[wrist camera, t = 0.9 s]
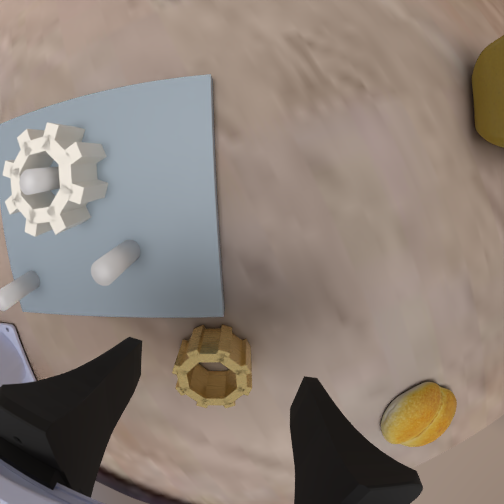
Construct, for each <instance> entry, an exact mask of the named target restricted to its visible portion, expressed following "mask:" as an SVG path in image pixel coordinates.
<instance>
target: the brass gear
mask: <svg viewBox="0 0 504 504" xmlns="http://www.w3.org/2000/svg"><path fill="white" fill-rule="evenodd" d="M199 362H220V363H222V364H223V365H224V366H226V367H227V368H229V369H228V370H227V371H208V370H207V369H205V368H204V367H203V366H201V365H200V364H198V363H199ZM172 373H173V374H176V375H177V377H178V381H177V384H176V389H177V391H178V392H179V393H180V395H185V394H186V395H187V396H189V397H190V398H192V399H193V400H195V401H197V404H196V405H197V406H201V407H204V408H207V406H208V405H223V406H224V407H225V408H228V407H231V406H235V400H237V399H238V398H239V397H240V396H242V395H247V396H248V395H249V393H250V391H251V389H252V373H251V347H250V344H249V343H248V341H247V339H243V340H241V339H240V338H238V337H237V336H236V335H234V334H233V333H232V327H229V326H225V325H222V326H221V328H212V329H205V327H204V325H201V326H199V327H196V328H194V330H193V333H192V337H191V338H190V339H189V340H188V341H186V340H184V339H183V341H182V344H181V347H180V350H179V353H178V356H177V359H176V362H175V365H174V368H173V372H172Z"/></svg>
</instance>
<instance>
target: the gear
mask: <svg viewBox="0 0 504 504" xmlns="http://www.w3.org/2000/svg"><path fill="white" fill-rule="evenodd" d="M84 132H85V129H83V128H79V127H75V126H69V125H62V124H56V123H49V122H47V124H46V128H45V130H36V129H26V130H25V131H24V132H23V133H22V134H21V135H19V136H18V137H17V140H18V143H19V146H20V149H21V150H20V152H19V153H18V155H17V157H16V159H15V160H5V164H4V170H3V176H6V177H8V178H11V191H12V195H11V196H10V197H9V198H8V199H7V200H6V201H5V204H6V206H7V209H8V211H9V214H10V215H11V214H14V213H17V212H21V213H22V214H23V216H24V217H25V218H26V224H25V232H26V233H28V234H30V235H32V236H35V237H36V236H38V235H41V234H43V233H45V232H48V231H50V230H53V231H54V233H55V235H56V234H59V233H61V232H63V231H66V230H68V229H70V228H72V227H75V226H77V225H79V224H82V223H83V222H85V221H86V220H88V219H89V218H91V216H90V214H89V212H88V209H87V207H86V205H87V203H88V202H91V201H94V200H98V199H101V198H105V194H106V190H107V187H108V183H107V182H104V181H101V180H98V179H97V165H96V163H98V162H99V161H101V160H103V159H104V158H106V157H107V156H106V154H105V151H104V149H103V147H102V144H97V143H86V142H82V138H83V135H84ZM54 160H55V161H56V162H57V163H58V165H59V180H60V189H59V191H58V193H57V194H56V196H55V195H54V194H53V193H52V192H51V191H45V192H40V193H36V194H31V195H25V194H24V193H23V192H22V191H21V189H20V184H19V181H20V176H21V174H22V173H23V171H25V170H27V169H35V168H46V167H50V166H51V164H52V162H53V161H54Z"/></svg>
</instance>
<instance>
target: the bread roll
mask: <svg viewBox="0 0 504 504" xmlns="http://www.w3.org/2000/svg"><path fill="white" fill-rule="evenodd" d="M456 405H457V402H456V398H455V396H454V394H453V393H452V392H451V391H450V390H448V389H445V388H442V387H440V386H438V384H436V383H433V382H424V383H422V384H419V385H417V386H415V387H413V388H412V389H410V390H408V391H406V392H405V393H403V394H401V395H400V396H398V397H397V398H396V399H395V400H393V401H392V402H391V404H390V405H389V406H388V408H387V409H386V411H385V413H384V415H383V417H382V421H381V431H382V434H383V436H384V438H385V439H386V440H387V441H388V442H390V443H392V444H402V445H405V446H409V447H418V446H423V445H426V444H428V443H431V442H433V441H434V440H436V439H437V438H438V437H439V436H441V435H442V434H443V433H444V432H445V431H446V429H447V428H448V427H449V425H450V423H451V421H452V419H453V417H454V415H455V411H456Z"/></svg>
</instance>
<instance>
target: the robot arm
mask: <svg viewBox="0 0 504 504" xmlns="http://www.w3.org/2000/svg"><path fill="white" fill-rule="evenodd" d="M141 353H142V341H141V340H138V339H135V338H131V337H128V338H127V339H125V340H124V341H122V342H121V343H119V344H118V345H116V346H115V347H113V348H112V349H110V350H108V351H107V352H105V353H104V354H102V355H100V356H99V357H97V358H95V359H94V360H92V361H90V362H88V363H86V364H84V365H82V366H80V367H78V368H76V369H74V370H71V371H69V372H66V373H64V374H61V375H57V376H54V377H51V378H47V379H43V380H39V381H36V379H35V377H34V374H33V372H32V370H31V367H30V365H29V363H28V360H27V358H26V355H25V353H24V350H23V348H22V345H21V343H20V340H19V337H18V334H17V332H16V329H15V327H14V326H13V325H12V324H7V323H0V504H104V503H102V502H99V501H97V500H95V499H92V498H91V494H92V491H93V487H94V483H95V480H96V476H97V473H98V470H99V467H100V464H101V461H102V458H103V455H104V452H105V449H106V447H107V444H108V442H109V439H110V436H111V434H112V432H113V430H114V428H115V426H116V424H117V422H118V420H119V419H120V417H121V415H122V413H123V411H124V410H125V408H126V406H127V404H128V402H129V401H130V399H131V397H132V395H133V393H134V391H135V388H136V386H137V383H138V381H139V378H140V375H141ZM290 431H291V440H292V448H293V456H294V464H295V500H294V504H410V503H411V502H412V501H414V500H415V499H416V498H417V497H418V496H419V495H420V493H421V491H422V489H423V486H422V484H421V481H420V478H419V476H418V474H417V471H415V470H413V469H411V468H409V467H407V466H405V465H403V464H401V463H399V462H397V461H396V460H394V459H393V458H391V457H389V456H388V455H386V454H385V453H383V452H382V451H381V450H379V449H378V448H377V447H375V446H374V445H373V444H372V443H370V442H369V441H368V440H367V439H366V438H365V437H364V436H363V435H362V434H361V433H359V432H358V431H357V430H356V429H355V428H354V426H353V425H352V424H351V423H350V422H349V421H348V420H347V418H346V417H345V416H344V415H343V414H342V412H341V411H340V410H339V409H338V407H337V406H336V405H335V403H334V402H333V400H332V399H331V398H330V396H329V395H328V393H327V392H326V390H325V389H324V387H323V386H322V384H321V383H320V382H319V380H318V379H317V378H312V377H305V376H304V378H303V380H302V383H301V385H300V387H299V390H298V392H297V394H296V396H295V399H294V401H293V403H292V405H291V407H290Z"/></svg>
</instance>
